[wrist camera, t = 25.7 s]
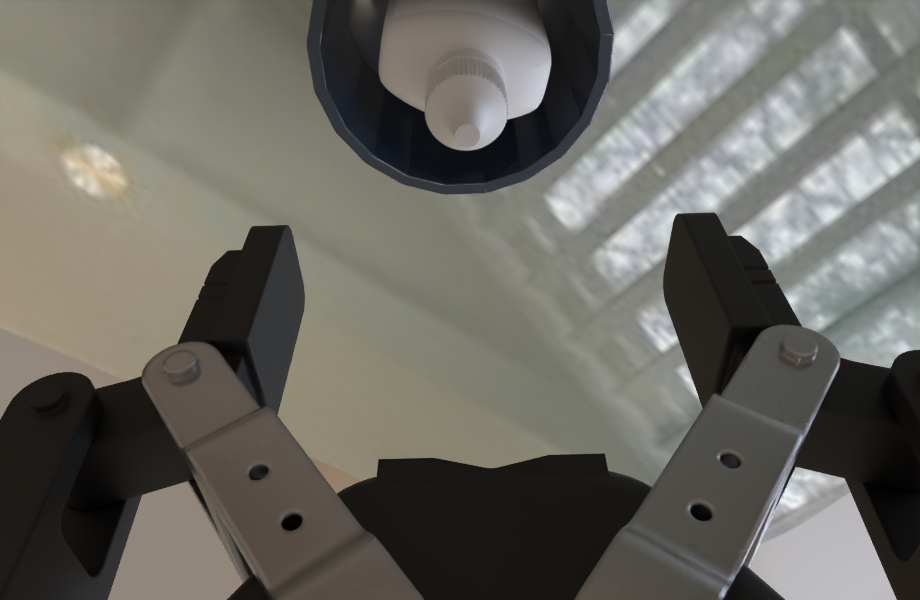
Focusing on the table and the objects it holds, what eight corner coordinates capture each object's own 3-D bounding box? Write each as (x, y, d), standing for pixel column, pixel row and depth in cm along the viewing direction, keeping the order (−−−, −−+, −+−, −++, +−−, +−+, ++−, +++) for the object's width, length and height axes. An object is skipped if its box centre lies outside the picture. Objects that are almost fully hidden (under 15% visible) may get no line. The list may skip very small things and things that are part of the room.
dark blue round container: (316, -139, 26) (281, -101, 21) (592, -151, 26) (629, -116, 21) (352, 118, 33) (332, 198, 27) (574, 110, 32) (599, 189, 27)
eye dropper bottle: (440, -97, 27) (434, 4, 17) (550, 1, 29) (597, 137, 20) (373, -1, 29) (336, 134, 19) (480, 83, 31) (493, 240, 22)
